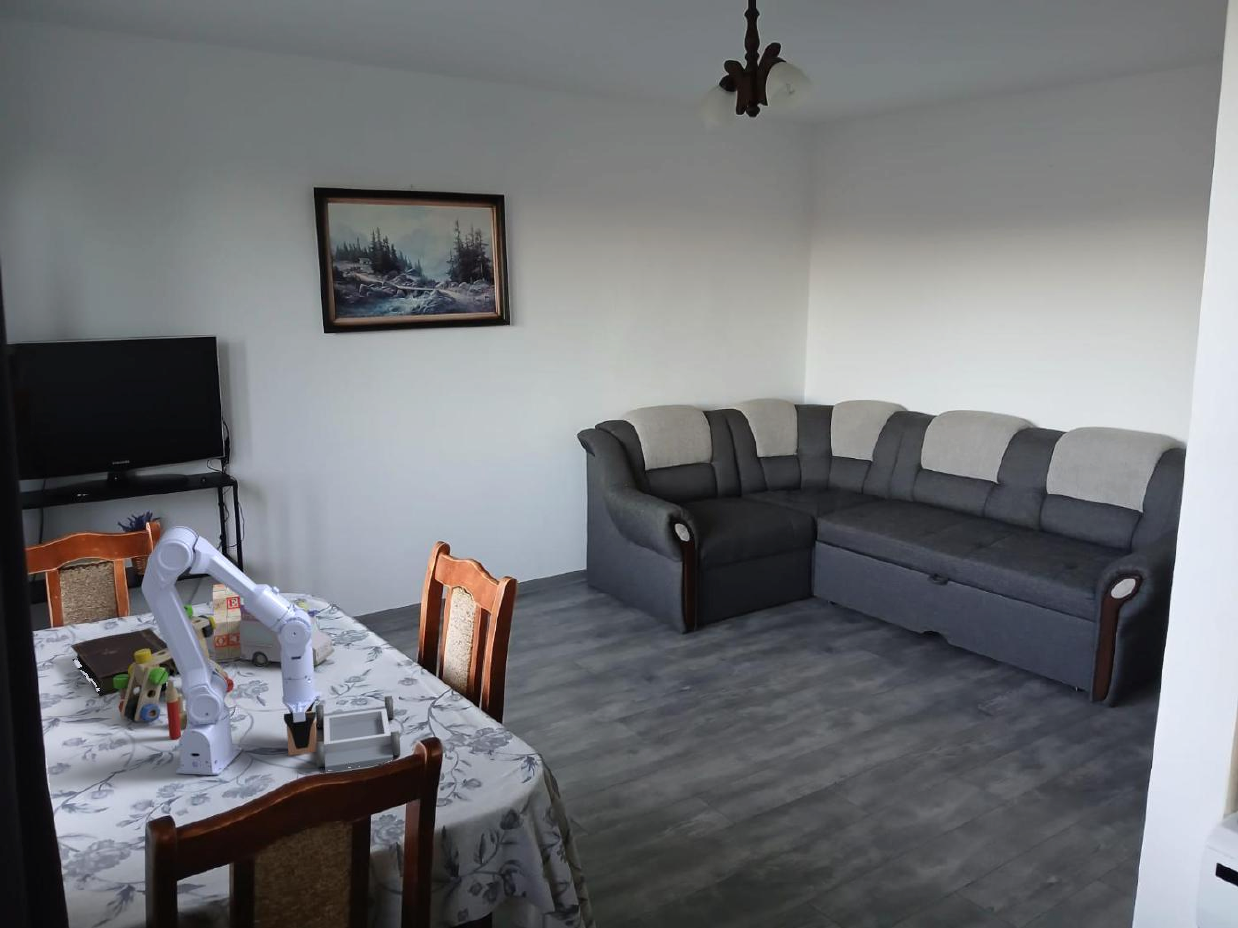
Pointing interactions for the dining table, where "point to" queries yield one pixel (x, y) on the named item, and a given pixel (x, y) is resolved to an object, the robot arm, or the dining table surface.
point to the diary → (116, 656)
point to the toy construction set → (161, 681)
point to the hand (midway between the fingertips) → (302, 740)
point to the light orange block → (312, 741)
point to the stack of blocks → (226, 622)
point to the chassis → (356, 737)
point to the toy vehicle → (265, 643)
